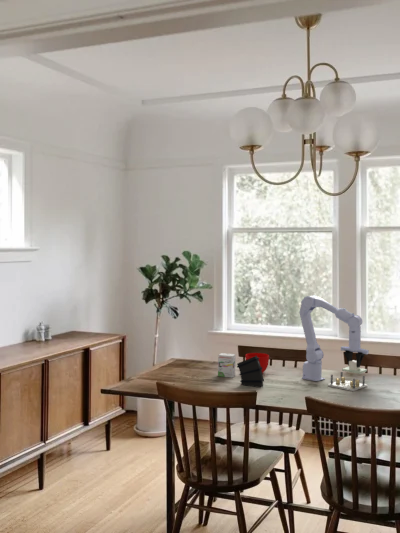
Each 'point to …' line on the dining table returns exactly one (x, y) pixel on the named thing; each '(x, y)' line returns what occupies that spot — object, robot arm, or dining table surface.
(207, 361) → the dining table surface
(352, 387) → the plate
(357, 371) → the sage board
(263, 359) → the ceramic cup
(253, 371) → the magazine
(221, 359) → the ink box
